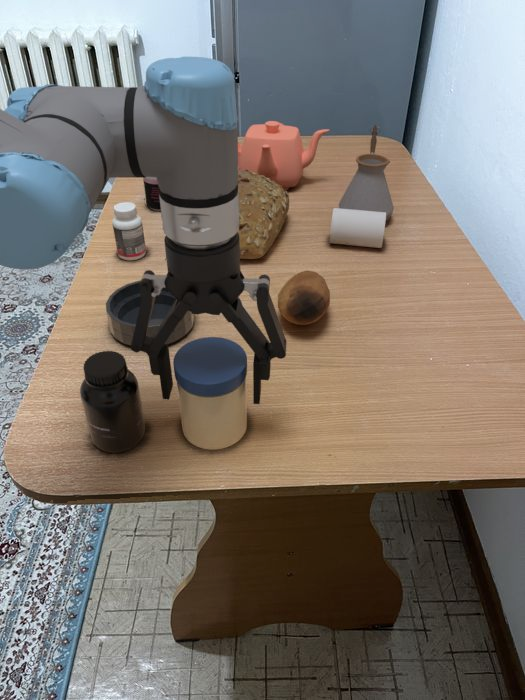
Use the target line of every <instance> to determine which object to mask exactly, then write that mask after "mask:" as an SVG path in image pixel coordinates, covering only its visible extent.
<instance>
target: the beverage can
mask: <svg viewBox="0 0 525 700" xmlns="http://www.w3.org/2000/svg"><path fill="white" fill-rule="evenodd" d="M142 179H143V187H144V188H143V189H144V195H145V203H146V206H147V207H148V208H149V209H151V210H152V211H156V212H161V206H160V198H159V188H158V186H159V185H158V181H157V177H145V178H142Z"/></svg>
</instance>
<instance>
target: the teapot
mask: <svg viewBox="0 0 525 700" xmlns="http://www.w3.org/2000/svg"><path fill="white" fill-rule="evenodd" d="M329 131H330V129H328V128H326V129H319V130H317V131H315V132H314V133H313V134H312V136H311V139H310V142H309V146H308V148H307V149H305V150H304V145H303V140H302V137H301V133H300V131H299V128H298V127H297V126H293V125H285V124H284V123H282V122H279V121H277V120H268V121H266V122H264V123H263V124H262V123H259V124H252V125H250V126H249V128H248V129H247V131H246V133H245V135H244V138H243V143H242V145H241V144H240V143H239V142H238V170H240V171H245V169H247V170H248V171H250V172H255V173H258V174H259V175H262V176H265V177H267V178H269V179H270V180H271V181H274V182H276V184H280V185H281V186H282V188H283V190H284V191H288V190H290V188H293V187H296V186H297V185H298V183H299V182H300V179H301V177H302V175H303V173H304V169H305V168H307V167H309V166H310V165H311V164H312V163H313V161H314V160H315V157H316V154H317V150H318V149H317V148H318V145H319V142H320V139H321V138H322V136H323V135H325V134H326V133H328V132H329Z"/></svg>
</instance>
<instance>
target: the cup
mask: <svg viewBox="0 0 525 700" xmlns="http://www.w3.org/2000/svg"><path fill="white" fill-rule="evenodd" d="M386 221H387V220H386V212H375V211H363V210H352V209H341V208H339V207H334V208H333V209H332V215H331V222H330V232H329V244H334V245H335V244H336V245H344V246H345V245H346V246H357V247H366V248H375V249H382V247H383V242H384V235H385V228H386Z"/></svg>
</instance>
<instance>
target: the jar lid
mask: <svg viewBox="0 0 525 700" xmlns="http://www.w3.org/2000/svg"><path fill="white" fill-rule="evenodd" d="M172 363H173V372H174V378H175V381H176V384H177V383H178V384H179V385H180V386H181V387H182V388H183V389H184V390H186V391H188V392H190V393H192V394H196V395H201V396H217V395H222V394H225V393H228V392H231V391H232V390H234V389H236V388H237V387H239V386H240V385H241V384H242V383H243V381H244V380H245V378H246V379H247V376H248V356H247V353H246V351H245V350H244V348H243V347H242V346H241V345H240V344H239V343H237V342H235V340H234V341H233V340H231V339H228V338H225V337H220V336H219V337H218V336H206V337H200V338H197V339H196V338H195V339H193V340H191V341H188V342H187V343H185V344H184V345H182V346H181V347H180V348H179V349H178V350H177V351H176V352H175V355H174V357H173V361H172Z"/></svg>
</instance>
